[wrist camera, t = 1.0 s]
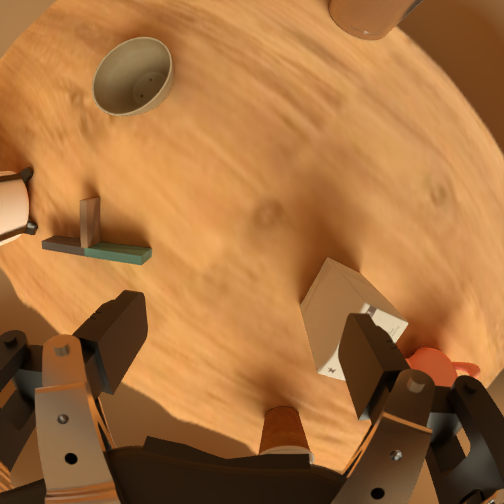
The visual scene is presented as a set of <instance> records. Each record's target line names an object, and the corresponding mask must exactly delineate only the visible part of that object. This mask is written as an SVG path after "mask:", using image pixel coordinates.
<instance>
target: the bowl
mask: <svg viewBox="0 0 504 504" xmlns="http://www.w3.org/2000/svg"><path fill="white" fill-rule="evenodd" d="M174 76H175V69H174V63H173V58H172V56H171V53H170V51H169V49H168V48H167V46H166V45H165V44H164V43H163V42H161V41H160V40H158V39H156V38H152V37H137V38H132V39H129V40H127V41H125V42H123V43H121V44H119V45H118V46H116V47H115V48H113V49H112V50H111V51H110V52H109V53H108V54H107V55H106V56H105V57H104V58H103V60H102V61H101V62H100V64H99V66H98V67H97V69H96V72H95V74H94V77H93V82H92V95H93V99H94V101H95V103H96V105H97V106H98V108H99V109H101V110H102V111H103V112H105V113H107V114H110V115H114V116H134V115H139V114H143V113H146V112H148V111H150V110H152V109H154V108H156V107H157V106H159V105H160V104H161V103H162V102H163V101H164V100H165V99H166V98H167V96H168V95H169V93H170V91H171V89H172V86H173V83H174ZM149 80H150V82H149ZM158 90H160V91H158ZM142 96H143V97H142Z"/></svg>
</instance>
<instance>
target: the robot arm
mask: <svg viewBox="0 0 504 504" xmlns="http://www.w3.org/2000/svg"><path fill="white" fill-rule="evenodd" d="M422 1H423V0H331V1H330V4H329V12H330V15H331V17H332V19H333V20H334V21H335V22H336V24H337V25H338V26H339V27H341V28H342V29H343V30H345V31H346V32H347V33H349V34H351V35H353V36H355V37H358V38H361V39H365V40H378V39H381V38H383V37H384V36H385V35H387V34H388V33H389V32H390V31H391V30H392V29H393V28H394V27H395V26H396V25H397V24H398V23H399V22H400V21H401V20H402V19H403V18H404V17H405V16H407V14H409V13H410V12H411V11H412V10H413V9H414V8H415V7H416V6H417V5H418V4H419V3H421V2H422ZM147 332H148V324H147V315H146V305H145V296H144V294H143V293H142V292H136V291H130V290H124V291H123V292H122V293H121V294H120V295H119V296H118V297H117V298H116V299H115V300H111V301H109V302H107V303H104V304H102V305H101V306H100V307H99V308H98V309H97V310H96V311H95V313H93V314H92V315H91V316H90V318H88V319H87V320H86V321H85V322H84V323H83V324H82V325H81V326H80V327H79V328H78V329H77V330H76V331H75V332H74V333H73V335H66V334H64V335H58V336H54V337H52V338H50V339H49V340H48V341H47V342H46V343H45V344H44V346H38V345H29V342H28V340H27V337H26V335H25V333H23V332H22V331H19V330H12V331H8V332H5V333H3V334H2V335H1V336H0V392H1V391H2V389H3V388H4V387H5V386H6V384H7V383H8V382H9V381H10V379H11V380H12V382H13V384H14V386H15V387H16V390H15V391H14V393H13V394H12V396H11V397H10V398H9V400H8V401H7V402H6V404H5V405H4V406H3V408H2V409H1V408H0V504H408V502H409V500H410V497H411V495H412V493H413V490H414V487H415V485H416V482H417V480H418V477H419V474H420V472H421V469H422V466H423V462H424V459H426V462H427V465H428V468H429V471H430V474H431V477H432V481H433V484H434V487H435V491H436V494H437V497H438V501H439V504H504V417H503V415H502V413H501V412H500V410H499V409H498V407H497V406H496V404H495V402H494V401H493V399H492V398H491V396H490V395H489V393H488V392H487V391H486V389H485V388H484V386H483V385H482V383H481V382H480V381H478V380H477V379H475V378H474V377H471V376H467V375H462V376H459V377H457V378H456V380H455V381H454V383H453V385H452V386H451V387H446V386H436V385H435V383H434V381H433V379H432V378H431V377H430V376H429V375H428V374H426V373H425V372H423V371H420V370H417V369H411V368H410V366H409V364H408V363H407V361H406V360H405V358H404V357H403V355H402V353H401V352H400V350H399V349H397V346H396V344H395V343H394V342H393V340H392V338H391V336H390V335H389V333H388V332H386V331H385V330H384V329H383V328H381V327H380V326H376V324H375V323H374V321H373V320H372V318H371V317H370V315H369V314H367V313H350V314H349V315H348V317H347V319H346V323H345V327H344V330H343V333H342V337H341V340H340V343H339V348H338V359H339V363H340V365H341V368H342V371H343V374H344V377H345V380H346V383H347V386H348V389H349V392H350V395H351V398H352V401H353V404H354V407H355V411H356V414H357V417H358V420H367V419H370V420H371V423H372V424H371V425H370V427H369V428H368V430H367V432H366V434H365V436H364V437H363V439H362V441H361V443H360V444H359V446H358V448H357V450H356V451H355V453H354V455H353V456H352V458H351V459H350V461H349V463H348V464H347V466H346V467H345V468H344V470H343V471H342V473H341V474H340V473H338V472H336V471H333V470H331V469H328V468H326V467H322V466H319V465H315V464H310V459H309V453H308V454H264V455H257V456H250V457H242V458H234V459H224V458H221V457H218V456H215V455H212V454H209V453H206V452H203V451H201V450H198V449H196V448H193V447H190V446H188V445H185V444H181V443H175V442H171V441H166V440H162V439H158V438H154V437H150V436H147V438H146V441H145V444H144V446H143V445H135V446H125V447H119V448H116V446H115V444H114V442H113V439H112V437H111V434H110V431H109V428H108V425H107V422H106V419H105V416H104V413H103V409H102V405H101V402H100V399H99V395H100V393H101V392H105V393H108V394H112V395H113V394H114V392H115V391H116V389H117V387H118V386H119V384H120V382H121V380H122V379H123V377H124V375H125V374H126V372H127V370H128V368H129V367H130V365H131V363H132V362H133V360H134V358H135V357H136V355H137V353H138V352H139V350H140V348H141V347H142V345H143V344H144V342H145V340H146V337H147ZM35 426H37V436H38V445H39V452H40V458H41V464H42V470H43V475H44V478H43V479H41V480H38V481H35V482H32V483H29V484H27V485H24V486H21V487H17V488H14V485H13V484H12V483H11V477H10V472H11V470H12V468H13V466H14V464H15V462H16V460H17V458H18V456H19V454H20V452H21V451H22V449H23V447H24V445H25V443H26V442H27V440H28V438H29V436H30V435H31V433H32V431H33V430H34V428H35ZM462 427H463V429H464V431H465V433H466V435H467V437H468V439H469V441H470V445H471V448H470V452H469V454H468V456H467V457H466V456H465V454H464V452H463V449H462V447H461V446H460V443H459V440H458V438H457V436H456V434H457V433H458V431H459V430H460V429H461V428H462Z"/></svg>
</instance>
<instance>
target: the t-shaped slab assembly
mask: <svg viewBox="0 0 504 504" xmlns="http://www.w3.org/2000/svg"><path fill="white" fill-rule="evenodd" d="M80 236H81V239H76V238H69V237H62V236H53V237H50V238H48V239H46V240H43V241H42V249H46V250H52V251H57V252H63V253H69V254H75V255H80V256H86V257H92V258H98V259H105V260H111V261H117V262H124V263H130V264H137V265H142V264H144V263H145V262H146V261H147V260H148V259H150V258H151V253H152V248H145V247H137V246H129V245H122V244H114V243H106V242H100V197H92V198H87V199H83V200H80Z"/></svg>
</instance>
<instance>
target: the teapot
mask: <svg viewBox="0 0 504 504" xmlns="http://www.w3.org/2000/svg"><path fill="white" fill-rule="evenodd" d="M405 360H406V361H407V363H408V364H409V366H410V368H411V369H417V370H420V371H423V372H425V373H426V374H428V375H429V376H430V377H431V378H432V379H433V381H434V383H435V385H436V386H446V387H451V386H452V385H453V383H454V381H455V380H456V378H457V377H458V376H457V373H456V370H455V369H457V370H462V371H465V372H467V373H469V374H470V375H469V376H471V377H474V378H475V379H477V377H478V376H479V374H480V368H479V367H478V366H477V365H475V364H472V363H465V362H451V361H450V359H449V358H448V357H447V356H446V355H445V354H444V353H443V352H441V351H440V350H437V349H434V348H426V347H424V346H422V347H420V348H418V349H417V350H416V351H415V353H414V355H412V356H411V357H410V358H406V359H405Z"/></svg>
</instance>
